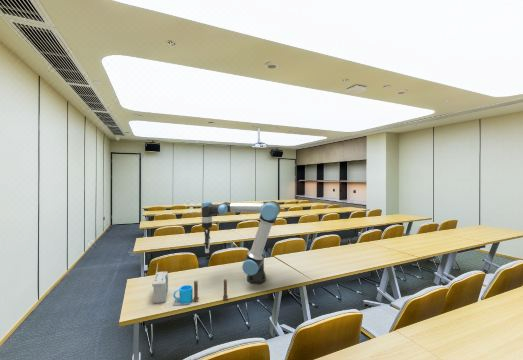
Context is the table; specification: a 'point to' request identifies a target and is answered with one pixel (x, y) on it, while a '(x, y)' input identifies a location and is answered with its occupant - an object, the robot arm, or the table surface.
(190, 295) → the mug
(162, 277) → the stereo radio cassette player
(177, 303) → the grey mat
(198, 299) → the walnut standards
